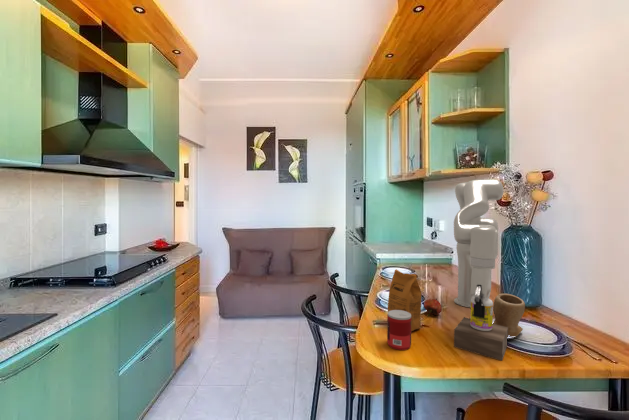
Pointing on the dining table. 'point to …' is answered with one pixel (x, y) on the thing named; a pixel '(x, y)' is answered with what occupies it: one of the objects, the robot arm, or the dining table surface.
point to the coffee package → (406, 296)
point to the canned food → (399, 329)
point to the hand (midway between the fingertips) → (481, 312)
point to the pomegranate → (433, 306)
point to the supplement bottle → (485, 322)
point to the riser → (481, 339)
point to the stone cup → (508, 312)
